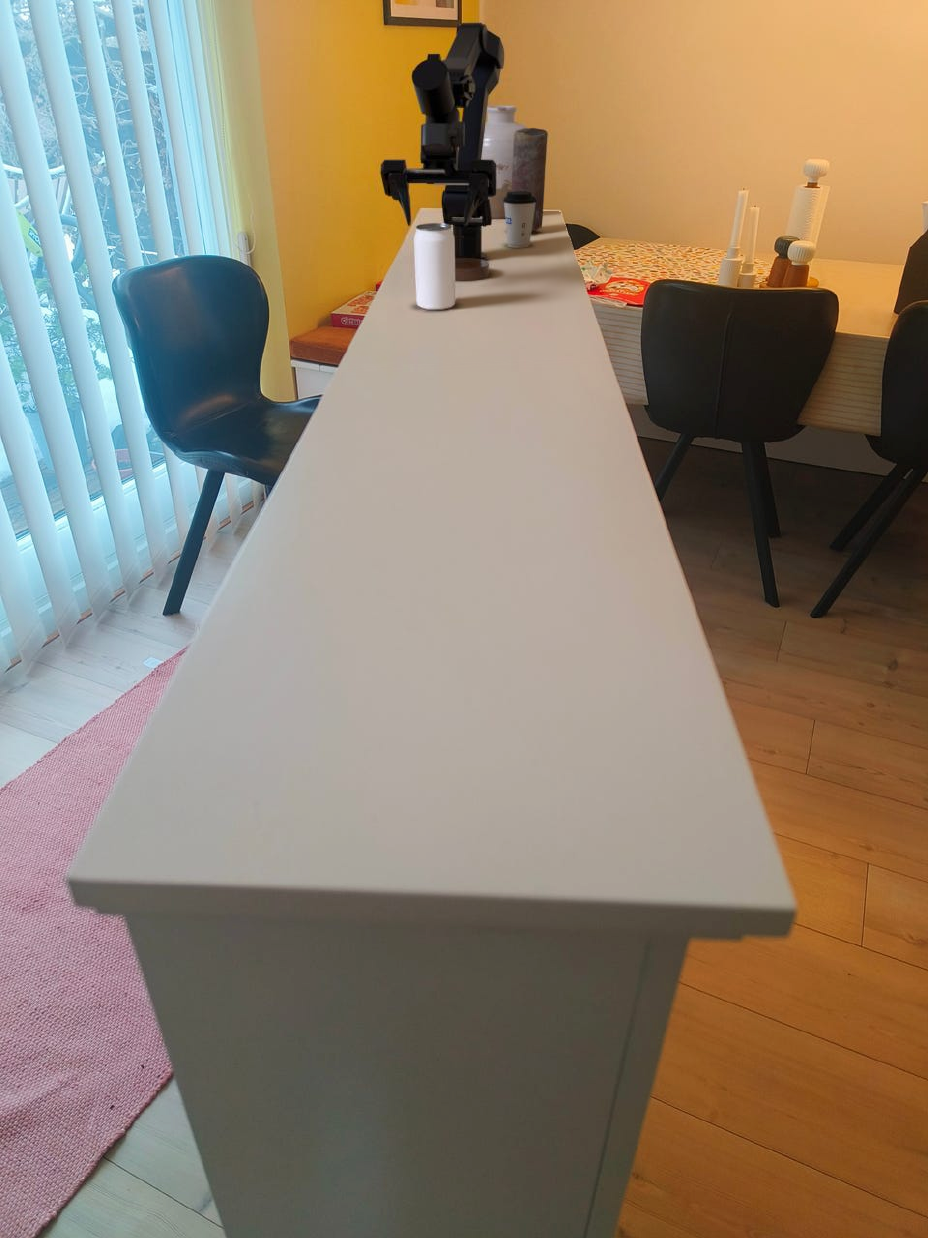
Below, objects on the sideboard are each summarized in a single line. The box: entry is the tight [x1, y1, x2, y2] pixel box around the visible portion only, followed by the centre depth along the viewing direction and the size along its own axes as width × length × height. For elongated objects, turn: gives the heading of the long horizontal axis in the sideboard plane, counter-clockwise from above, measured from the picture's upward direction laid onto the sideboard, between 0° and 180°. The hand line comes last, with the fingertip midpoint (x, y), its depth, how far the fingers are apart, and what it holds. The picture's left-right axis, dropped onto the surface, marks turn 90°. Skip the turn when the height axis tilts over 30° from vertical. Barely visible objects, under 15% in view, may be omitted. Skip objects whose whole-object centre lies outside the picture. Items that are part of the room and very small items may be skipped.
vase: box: [481, 105, 528, 219], centre depth 195 cm, size 16×16×23 cm
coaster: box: [455, 258, 490, 282], centre depth 152 cm, size 9×9×2 cm
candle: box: [511, 127, 549, 233], centre depth 179 cm, size 8×7×20 cm
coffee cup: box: [503, 191, 537, 249], centre depth 170 cm, size 7×7×10 cm
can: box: [413, 222, 456, 311], centre depth 132 cm, size 6×6×12 cm
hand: (436, 224), depth 133 cm, fingers open, 9 cm apart
